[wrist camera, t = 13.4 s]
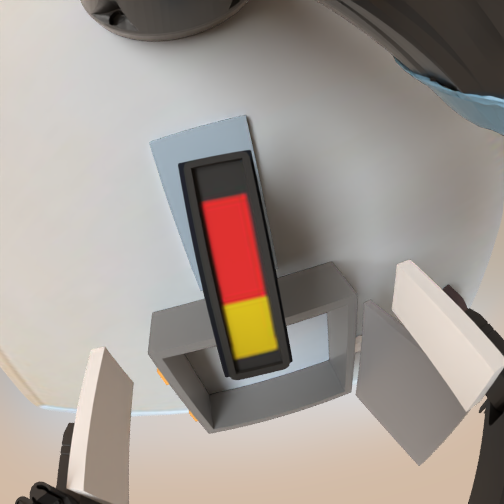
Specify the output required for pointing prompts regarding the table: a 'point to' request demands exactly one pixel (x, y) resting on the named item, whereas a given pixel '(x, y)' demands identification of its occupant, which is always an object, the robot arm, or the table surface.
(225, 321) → the magazine
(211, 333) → the case
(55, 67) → the table surface
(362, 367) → the lid
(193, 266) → the mat
